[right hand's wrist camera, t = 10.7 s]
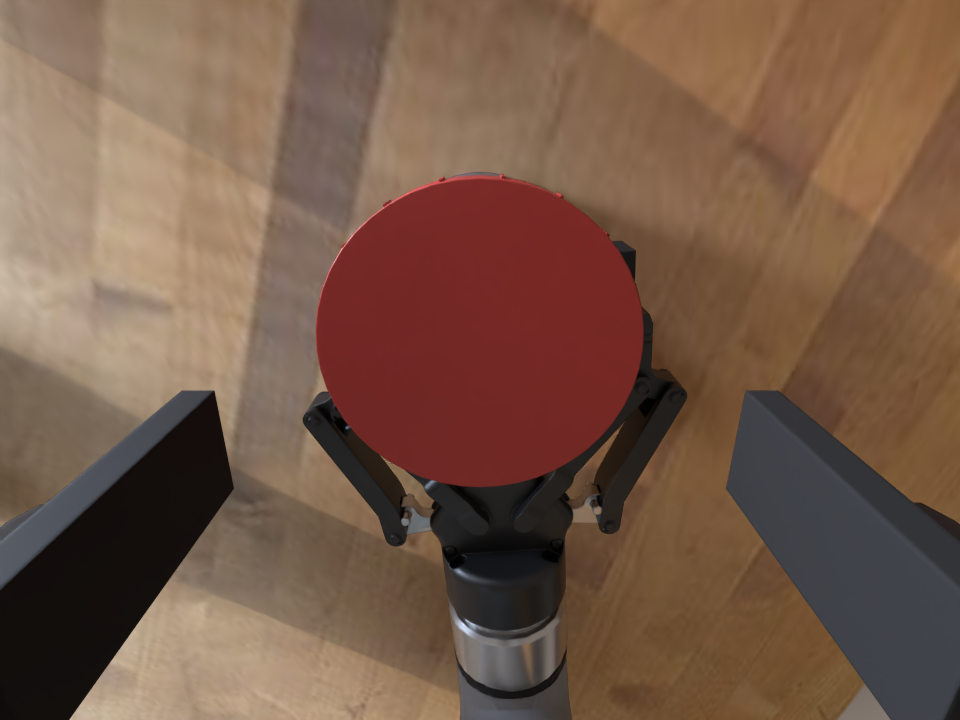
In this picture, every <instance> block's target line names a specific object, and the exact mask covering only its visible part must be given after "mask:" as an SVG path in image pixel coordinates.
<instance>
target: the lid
mask: <svg viewBox="0 0 960 720" xmlns="http://www.w3.org/2000/svg"><path fill="white" fill-rule="evenodd" d="M563 198H564V196H563V195H561V194H559V193H558V192H556V195H555V194H553V193H552V192H550V191H548V190H546V189H544V188H541V187H538V186H536V185H533V184H530V183H527V182H524V181H521V180H516V179H511V178H506V177H505V176H504V174H500V176H487V175H473V176H459V177H453V178H449V179H445V178H444V177H441V178H440V179H439V181H435V182H432V183H430V184H427V185H424V186H421V187H418V188H416V189H414V190H412V191H410V192H408V193H406V194H404V195H402V196H400V197H399V198H397V199H395V200H394V201H391V200H389V201H387V202H386V203H384V204H383V206H384V208H382V209H381V210H379V211H378V212H377V213H375V214H374V215H373V216H371V217H370V218H369V219H368V220H367V221H366V222H365V223H364V224H363V225H362V226H361V227H360V228H359V229H358V230H357V231H355V232H354V234H353V235H352V236H351V238H350V239H349V240H348V241H347V242H346V243H345V244H343V245H342V247H341V248H342V249H341V251H340V252H339V254H338V256H337V258H336V259H335V261H334V263H333V265H332V266H331V268H330V271H329V273H328V276H327V278H326V281H325V283H324V286H323V288H322V292H321V297H320V301H319V305H318V310H317V321H316V345H317V354H318V359H319V364H320V369H321V372H322V375H323V378H324V381H325V384H326V387H327V390H328V392H329V394H330V396H331V398H332V400H333V402H334V404H335V406H336V407H337V409H338V411H339V412H340V414H341V415H342V417H343V418H344V420H345V421H346V423H347V424H348V425H349V426H350V427H351V428H352V430H353V431H354V432H355V433H356V434H357V435H358V437H360V438H361V439H362V440H363V441H364V442H365V443H366V444H367V445H368V446H369V447H370V448H372V449H373V450H374V451H375V452H377V453H378V454H380V455H381V456H382V457H384V458H385V459H387V460H388V461H390V462H391V463H393V464H395V465H397V466H399V467H400V468H402V469H404V470H406V471H408V472H411V473H413V474H416V475H418V476H421V477H423V478H426V479H430V480H434V481H437V482H441V483H446V484H452V485H458V486H470V487H490V486H502V485H508V484H514V483H519V482H523V481H526V480H530V479H533V478H537V477H539V476H541V475H544V474H546V473H549V472H551V471H554V470H556V469H557V468H559V467H561V466H563V465H565V464H566V463H568V462H570V461H572V460H573V459H574V458H576V457H577V456H579V455H580V454H581V453H583V452H584V451H586V450H587V449H588V448H589V447H590V446H591V445H592V444H594V443H595V442H596V441H597V440H598V439H599V438H600V437H601V436H602V435H603V434H604V433H605V431H606V430H607V429H608V428H609V427H610V426H611V424H612V423H613V422H614V421H615V419H616V417H617V416H618V414H619V413H620V411H621V410H622V408H623V407H624V405H625V403H626V401H627V399H628V397H629V395H630V393H631V391H632V389H633V386H634V383H635V380H636V377H637V374H638V371H639V367H640V362H641V357H642V351H643V336H644V325H643V315H642V307H641V303H640V298H639V294H638V290H637V287H636V283H635V282H634V279H633V277H632V274H631V272H630V269H629V267H628V265H627V264H626V262H625V260H624V258H623V257H622V255H621V253H620V251H619V250H618V248H617V247H616V246H615V245H614V243H613V242H612V241H611V239H610V238H609V236H610V235H609V234H608V233H607V232H606V231H604V230H603V229H601V228H600V227H599V226H598V225H597V224H596V223H595V222H594V221H593V220H592V219H591V218H590V217H588V216H587V215H586V214H584V213H583V212H581V211H580V210H579V209H577V208H576V207H575V206H573V205H572V204H570V203H569V202H567V201H566V200H564V199H563Z"/></svg>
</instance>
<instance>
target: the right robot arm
mask: <svg viewBox="0 0 960 720" xmlns="http://www.w3.org/2000/svg"><path fill="white" fill-rule="evenodd" d="M233 489H234V487H233V482H232V477H231V472H230V467H229V462H228V457H227V452H226V446H225V441H224V436H223V431H222V426H221V421H220V416H219V411H218V406H217V401H216V396H215V391H181V392H180V393H179V394H177V395H176V396H175V397H174V398H172V399H171V400H170V401H169V402H168V403H166V404H165V405H164V406H163V407H162V408H160V409H159V410H158V411H157V412H156V413H154V414H153V415H152V416H151V417H150V418H148V419H147V420H146V421H145V422H144V423H142V424H141V425H140V426H139V427H138V428H136V429H135V430H134V431H133V432H131V433H130V434H129V435H128V436H127V437H125V438H124V439H123V440H122V441H121V442H119V443H118V444H117V445H116V446H115V447H113V448H112V449H111V450H110V451H109V452H107V453H106V454H105V455H104V456H103V457H101V458H100V459H99V460H98V461H97V462H95V463H94V464H93V465H92V466H90V467H89V468H88V469H87V470H86V471H84V472H83V473H82V474H81V475H80V476H78V477H77V478H76V479H75V480H74V481H72V482H71V483H70V484H69V485H68V486H66V487H65V488H64V489H63V490H62V491H60V492H59V493H58V494H57V495H56V496H54V497H53V498H52V499H51V500H49V501H48V502H47V503H46V504H45V505H38V506H36V507H34V508H32V509H30V510H29V511H27V512H25V513H23V514H21V515H19V516H17V517H16V518H14V519H12V520H10V521H8V522H6V523H5V524H4V525H2V526H1V527H0V720H69V719H70V718H71V716H72V715H73V714H74V712H75V711H76V709H77V708H78V707H79V705H80V704H81V702H82V701H83V700H84V698H85V697H86V695H87V694H88V693H89V691H90V690H91V688H92V687H93V686H94V684H95V683H96V681H97V680H98V679H99V677H100V676H101V674H102V673H103V672H104V670H105V669H106V667H107V666H108V665H109V663H110V662H111V660H112V659H113V658H114V656H115V655H116V653H117V652H118V650H119V649H120V648H121V646H122V645H123V643H124V642H125V641H126V639H127V638H128V636H129V635H130V634H131V632H132V631H133V629H134V628H135V627H136V625H137V624H138V622H139V621H140V620H141V618H142V617H143V615H144V614H145V613H146V611H147V610H148V608H149V607H150V606H151V604H152V603H153V601H154V600H155V599H156V597H157V596H158V594H159V593H160V592H161V590H162V589H163V587H164V586H165V585H166V583H167V582H168V580H169V579H170V578H171V576H172V575H173V573H174V572H175V571H176V569H177V568H178V566H179V565H180V564H181V562H182V561H183V559H184V558H185V557H186V555H187V554H188V552H189V551H190V550H191V548H192V547H193V545H194V544H195V542H196V541H197V540H198V538H199V537H200V535H201V534H202V533H203V531H204V530H205V528H206V527H207V526H208V524H209V523H210V521H211V520H212V519H213V517H214V516H215V514H216V513H217V512H218V510H219V509H220V507H221V506H222V505H223V503H224V502H225V500H226V499H227V498H228V496H229V495H230V493H231V492H232V491H233ZM726 489H727V491H728V492H729V493H730V495H731V496H732V498H733V499H734V500H735V502H736V503H737V505H738V506H739V507H740V509H741V510H742V512H743V513H744V514H745V516H746V517H747V519H748V520H749V521H750V523H751V524H752V526H753V527H754V528H755V530H756V531H757V533H758V534H759V535H760V537H761V538H762V540H763V541H764V543H765V544H766V545H767V547H768V548H769V550H770V551H771V552H772V554H773V555H774V557H775V558H776V559H777V561H778V562H779V564H780V565H781V566H782V568H783V569H784V571H785V572H786V573H787V575H788V576H789V578H790V579H791V580H792V582H793V583H794V585H795V586H796V587H797V589H798V590H799V592H800V593H801V594H802V596H803V597H804V599H805V600H806V601H807V603H808V604H809V606H810V607H811V608H812V610H813V611H814V613H815V614H816V615H817V617H818V618H819V620H820V621H821V622H822V624H823V625H824V627H825V628H826V629H827V631H828V632H829V634H830V635H831V636H832V638H833V639H834V641H835V642H836V643H837V645H838V646H839V648H840V649H841V650H842V652H843V653H844V655H845V656H846V658H847V659H848V660H849V662H850V663H851V665H852V666H853V667H854V669H855V670H856V672H857V673H858V674H859V676H860V677H861V679H862V680H863V681H864V683H865V684H866V686H867V687H868V688H869V690H870V691H871V693H872V694H873V695H874V697H875V698H876V700H877V701H878V702H879V704H880V705H881V707H882V708H883V709H884V711H885V712H886V714H887V715H888V716H889V718H890V719H891V720H960V524H958V523H957V522H956V521H954V520H953V519H951V518H949V517H947V516H945V515H943V514H941V513H939V512H937V511H936V510H934V509H932V508H930V507H928V506H926V505H924V504H922V503H913V502H912V501H911V500H909V499H908V498H907V497H906V496H904V495H903V494H902V493H901V492H900V491H898V490H897V489H896V488H895V487H894V486H892V485H891V484H890V483H889V482H888V481H886V480H885V479H884V478H883V477H882V476H880V475H879V474H878V473H877V472H876V471H874V470H873V469H872V468H871V467H870V466H868V465H867V464H866V463H865V462H863V461H862V460H861V459H860V458H859V457H857V456H856V455H855V454H854V453H853V452H851V451H850V450H849V449H848V448H847V447H845V446H844V445H843V444H842V443H841V442H839V441H838V440H837V439H836V438H835V437H833V436H832V435H831V434H830V433H829V432H827V431H826V430H825V429H824V428H822V427H821V426H820V425H819V424H818V423H816V422H815V421H814V420H813V419H812V418H810V417H809V416H808V415H807V414H806V413H804V412H803V411H802V410H801V409H800V408H798V407H797V406H796V405H795V404H794V403H792V402H791V401H790V400H789V399H788V398H786V397H785V396H784V395H783V394H781V393H780V392H779V391H745V396H744V401H743V406H742V411H741V416H740V421H739V426H738V431H737V436H736V441H735V446H734V452H733V457H732V462H731V467H730V472H729V477H728V482H727V487H726Z"/></svg>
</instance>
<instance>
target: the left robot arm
mask: <svg viewBox="0 0 960 720" xmlns="http://www.w3.org/2000/svg"><path fill="white" fill-rule="evenodd" d="M613 243H614V245H615V246H616V247H617V248H618V250H619V251H620V253H621V255H622V257H623V258H624V260H625V262H626V264H627V265H628V267H629V269H630V272H631V274H632V277H633V279H634V282H635V259H636V250H634V249H633V248H631V247H630V246H628V245H627V244H625V243H624V242H623V241H614V242H613ZM642 315H643V325H644V336H643V351H642V357H641V362H640V367H639V371H638V374H637V377H636V380H635V383H634V386H633V389H632V391H631V393H630V395H629V397H628V399H627V401H626V403H625V405H624V407H623V408H622V410H621V411H620V413H619V414H618V416H617V417H616V419H615V421H614V422H613V423H612V424H611V426H610V427H609V428H608V429H607V430H606V431H605V433H604V434H603V435H602V436H601V437H600V438H599V439H598V440H597V441H596V442H595V443H594V444H592V445H591V446H590V447H589V448H588V449H587V450H586V451H584V452H583V453H581V454H580V455H579V456H577V457H576V458H574V459H573V460H572V461H570V462H568V463H566V464H565V465H563V466H561V467H559V468H557V469H556V470H554V471H551V472H549V473H546V474H544V475H541V476H539V477H537V478H533V479H530V480H526V481H523V482H519V483H514V484H508V485H502V486H490V487H470V486H458V485H452V484H446V483H441V482H437V481H434V480H430V479H426V478H423V477H421V476H418V475H416V474H413V473H411V472H408V471H407V472H408V473H409V474H410V475H411V476H413V477H414V478H415V479H416V480H418V481H419V482H420V483H421V484H422V485H423V487H424V489H425V491H426V493H427V494H428V495H429V496H430V497H431V498H432V499H433V500H435V501H434V503H433V504H432V507H431V508H424V507H422V506H421V505H419V503H418V502H417V500H416V499H415V497H414V495H413V494H407V495H406V493H405V491H404V488H403V486H402V484H401V483H400V481H399V480H398V478H397V477H396V475H395V474H394V473H393V472H392V470H391V469H390V468H389V466H388V465H387V464H386V462H385V461H384V460H383V459H382V457H381V456H380V455H379V454H378V453H377V452H375V451H374V450H373V449H372V448H370V447H369V446H368V445H367V444H366V443H365V442H364V441H363V440H362V439H361V438H360V437H358V435H357V434H356V433H355V432H354V431H353V430H352V428H351V427H350V426H349V425H348V424H347V423H346V421H345V420H344V418H343V417H342V415H341V414H340V412H339V411H338V409H337V407H336V406H335V404H334V402H333V400H332V398H331V396H330V394H329V392H321V393H319V394H318V395H317V396H316V398H315V399H314V401H313V402H312V404H311V405H310V407H309V408H308V410H307V411H306V413H305V415H304V417H303V423H304V425H305V427H306V428H307V429H308V430H309V431H310V433H311V434H312V435H313V436H314V438H315V439H316V440H317V441H318V443H319V444H320V445H321V446H322V448H323V449H324V450H325V451H326V452H327V454H328V455H329V456H330V457H331V459H332V460H333V461H334V462H335V464H336V465H337V466H338V467H339V469H340V470H341V471H342V472H343V473H344V475H345V476H346V477H347V478H348V480H349V481H350V482H351V483H352V485H353V486H354V487H355V488H356V490H357V491H358V492H359V493H360V494H361V496H362V497H363V498H364V499H365V501H366V502H367V503H368V504H369V506H370V507H371V508H372V509H373V511H374V512H375V513H376V514H377V515H378V517H379V520H380V523H381V526H382V529H383V532H384V536H385V539H386V541H387V543H388V544H390V545H392V546H401V545H403V544H404V543H405V541H406V537H407V535H408V534H414V533H420V532H427V531H432V532H433V533H434V534H435V535H436V536H437V538H438V539H439V541H440V543H441V547H442V554H443V562H444V570H445V578H446V586H447V593H448V597H449V611H450V618H451V625H452V632H453V639H454V646H455V654H456V660H457V667H458V678H459V690H460V720H572V716H571V709H570V702H569V693H568V678H567V661H566V651H567V645H566V644H567V615H566V592H565V589H566V570H565V535H566V532H567V530H568V528H569V527H570V525H571V523H598V525H599V528H600V530H601V532H603V533H605V534H613V533H615V532H616V531H617V530H619V527H620V523H621V517H622V511H623V505H624V501H625V500H626V498H627V496H628V495H629V493H630V491H631V490H632V488H633V487H634V485H635V483H636V482H637V480H638V478H639V477H640V475H641V473H642V472H643V470H644V468H645V467H646V465H647V464H648V462H649V460H650V459H651V457H652V455H653V454H654V452H655V450H656V449H657V447H658V446H659V444H660V442H661V441H662V439H663V437H664V436H665V434H666V432H667V431H668V429H669V428H670V426H671V424H672V423H673V421H674V419H675V418H676V416H677V414H678V413H679V411H680V409H681V408H682V406H683V405H684V403H685V401H686V399H687V392H686V391H685V389H684V388H683V387H682V386H681V384H680V383H679V382H678V381H677V380H676V378H675V377H674V376H673V375H672V374H671V372H670V371H668V370H667V369H658V370H657V369H653V368H651V358H652V336H653V335H652V334H653V322H652V320H651V317H650V314H649V313H648V312H647V311H646V310H645V309H644V308H643V307H642ZM625 420H626V421H625ZM624 422H625V423H624ZM623 423H624V424H623ZM622 424H623V426H622V428H621V430H620V431H619V433H618V435H617V437H616V438H615V440H614V442H613V444H612V445H611V447H610V449H609V451H608V452H607V454H606V456H605V458H604V459H603V461H602V463H601V464H600V466H599V468H598V470H597V473H596V476H595V480H594V484H593V483H588V484H586V486H585V489H584V490H583V492H582V495H581V496H580V497H578V498H577V499H572V500H570V499H569V497H568V495H567V494H566V493H565V492H566V491H567V490H568V488H569V487H570V486H571V484H572V482H573V479H574V476H575V474H576V473H577V472H578V471H579V470H580V469H581V468H582V467H583V466H584V465H585V463H586V462H587V461H588V460H589V459H590V458H591V457H592V456H593V455H594V454H595V453H596V452H597V451H598V449H599V448H600V447H601V446H602V445H603V444H604V443H605V442H606V441H607V440H608V439H609V438H610V437H611V436H612V434H613V433H614V432H615V431H616V430H617V429H618V428H619V427H620V426H621V425H622ZM405 471H406V470H405Z"/></svg>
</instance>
